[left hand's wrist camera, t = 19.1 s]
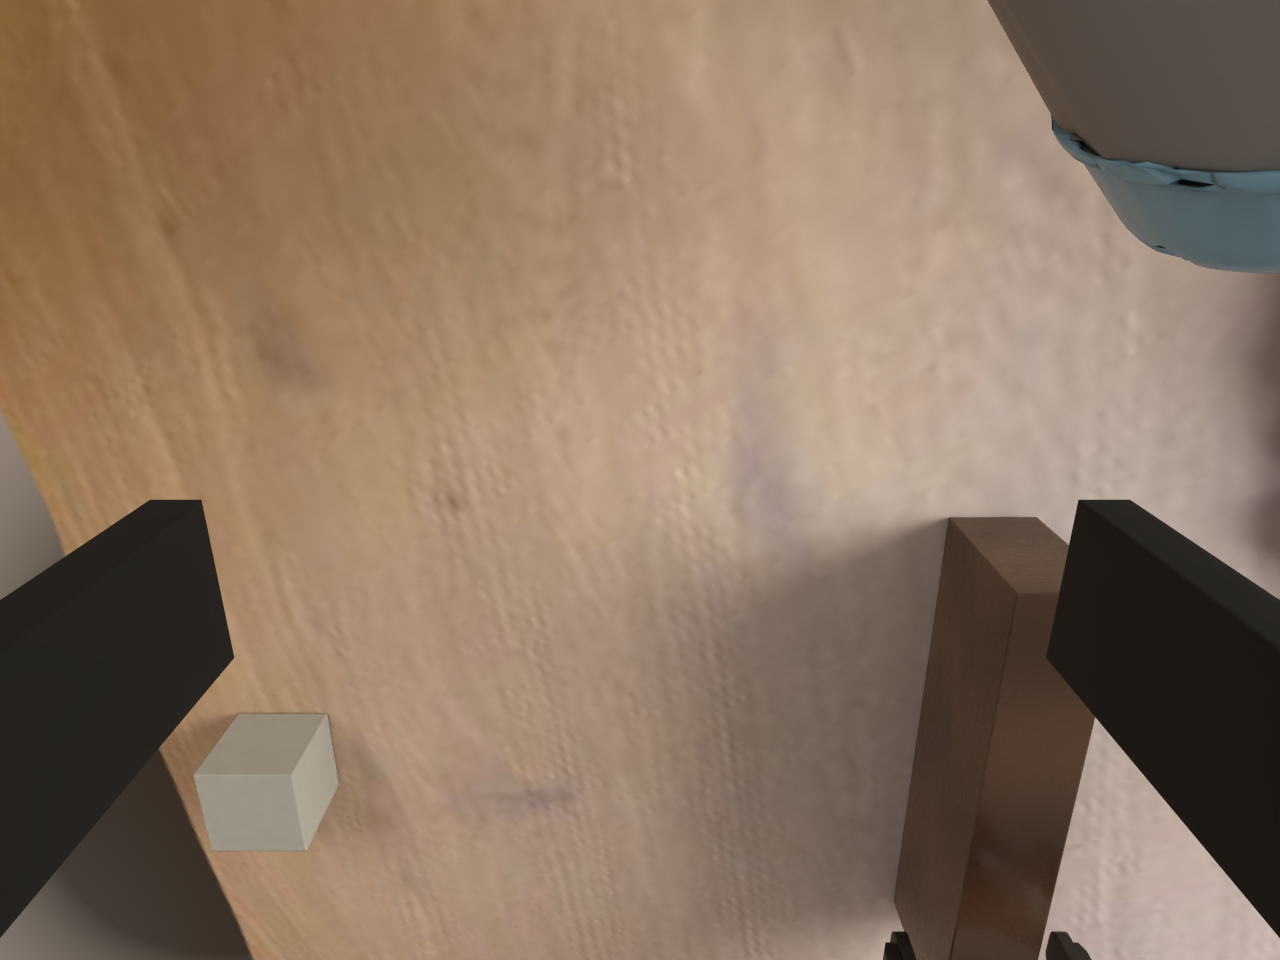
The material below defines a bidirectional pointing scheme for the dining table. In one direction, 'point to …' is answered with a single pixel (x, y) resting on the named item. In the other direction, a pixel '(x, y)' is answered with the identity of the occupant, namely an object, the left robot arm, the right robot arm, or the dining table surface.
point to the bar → (991, 750)
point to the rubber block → (267, 782)
